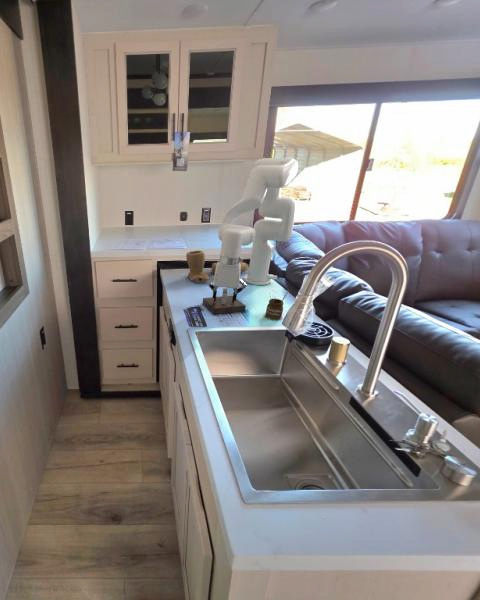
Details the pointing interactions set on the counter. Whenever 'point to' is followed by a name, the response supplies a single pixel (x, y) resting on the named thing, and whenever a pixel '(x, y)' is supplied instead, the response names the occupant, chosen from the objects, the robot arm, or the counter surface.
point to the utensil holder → (275, 308)
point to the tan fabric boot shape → (196, 266)
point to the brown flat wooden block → (223, 305)
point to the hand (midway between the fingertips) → (223, 300)
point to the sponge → (243, 265)
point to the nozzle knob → (224, 296)
